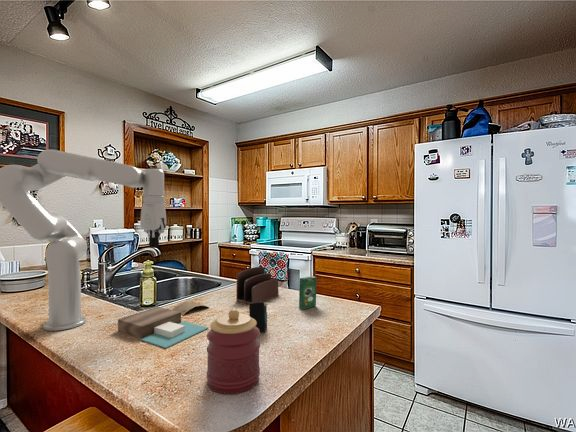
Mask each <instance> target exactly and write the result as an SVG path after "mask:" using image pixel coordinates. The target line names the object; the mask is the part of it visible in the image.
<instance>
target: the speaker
mask: <svg viewBox="0 0 576 432" xmlns="http://www.w3.org/2000/svg"><path fill="white" fill-rule="evenodd" d="M248 308H249V309H248V310H249V311H248V313H249V316H250V317H251V318H253V319H255V320H256V322H257V324H256V327H257V328H258V329H259V330H260V334H264V333H266V329H267V328H268V311H267V309H268V308H267V304H266V303H265V301H261V302H256V303H249V304H248Z"/></svg>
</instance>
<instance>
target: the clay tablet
mask: <svg viewBox="0 0 576 432" xmlns="http://www.w3.org/2000/svg"><path fill="white" fill-rule="evenodd" d="M200 306H201V307H205V305H203V304H201V303H199V302H196V301H190V300H189V301H184V302H181V303H178V304H177V305H175V306H174V307H173V309H171V310H174V311H178V312H181V316H182V315H183V316H184V315H185V314H186V313H187V312H189V311H190V310H192V309H194V308H195V307H200Z"/></svg>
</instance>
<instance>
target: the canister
mask: <svg viewBox="0 0 576 432" xmlns="http://www.w3.org/2000/svg"><path fill="white" fill-rule="evenodd" d="M256 324H257V322H256V320H255V319H253V318H251V317H250V316H249V315H248V314H247V313H241V312H239V310H238V309H235V308H232V309H230V310H229V312H228V313H226V314H222V315H220V316H218V317H217V318H216V319H214V320H213V321H211V322H210V330H208V332H207V333H206V339H207V340H208V345H207V347H206V352H207V369H206V370H207V371H206V381H207V384H208V387H209V388H210V389H211V390H213V391H214V392H217V393H219V394H225V395H226V394H227V395H234V394H239V393H243V392H246V391H248V390H250V389H252V388H253V387H255V386H256V384H257V383H259V378H260V375H261V374H260V371H261V369H260V368H261V367H260V348H261V343H260V342H259V336H260V334H261V333H260V330H259V329H258V328H257V327H256Z"/></svg>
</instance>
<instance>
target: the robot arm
mask: <svg viewBox="0 0 576 432" xmlns="http://www.w3.org/2000/svg"><path fill="white" fill-rule="evenodd" d="M65 177H68V178H69V177H71V178H75V179H80V180H85V181H92V182H93V181H95V182H96V181H101V182H105V183H111V184H116V185H122V186H126V187H128V188H134V189H136V188H143V189H142V193H143V195H142V196H143V197H142V198H143V199H142V202H143V204H142V206H141V210H140V229H142V230H143V232H144V233H147V237H148V243H149V244H148V246H149V247H148V248H150V249H156V248H159V247H160V237H161V234H164V233H165V229H166V228H167V211H166V206H165V172H164V170H162V169H160V168H145V169H144V170H143V169H138V167H135V166H134V165H130V164H129V165H128V164H124V163H120V162H116V161H110V160H105V159H101V158H96V157H91V156H86V155H81V154H76V153H72V152H67V151H62V150H58V149H45V150H42V151H41V152H39V154H38V156H37V163H35V164H34V165H31V166H30V167H29V166H24V165H19V164H6V165H5V166H1V168H0V204H1V206H3V207H4V209H6V210H7V212H8V213H10V215H11V216H12V217H13V218H14V219H15V221H17V223H18V224H19V225H20V226H21V227H22V228H23V229H24V231H26V232H27V233H28V234H29V235H30V237H32V238H33V239H34V240H36V241H37V240H38V241H48V242H49V243H50V244H48V246H47V247H46V250H45V261H46V262H45V263H46V266H47V277H48V278H47V280H48V281H47V282H48V321H46V322H45V323H43V330H45V331H49V332H50V331H52V332H53V331H54V332H55V331H56V332H57V331H64V330H68V329H74V328H77V327H79V326H82V325H83V324H85V323H86V322H87V316H84V315H82V284H81V283H82V279H81V277H82V273H81V265H80V259H81V258H82V257H84V256H85V255H86V253H87V250H88V243H87V241H86V239H85V238H84V237H83V236H82V235H81V234H80V233H79V231H77V230H76V228H75V227H74V226H73V225H72V223H70V222H69V221H68V220H67V218H65V217H64V216H62V215H60V214H58V213H54V212H53V213H50V212H48V210H46V209H45V208H44V206H42V204H41V203H40V202H39V201H38V200H37V199H36V198H35V197H34V196H33V195H32V194H30V193H29V192H33V191H38V190H41V189H43V188H45V187H48V186H49V185H51V184H53V183H55V182H57V181H59V180H61V179H63V178H65Z"/></svg>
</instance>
